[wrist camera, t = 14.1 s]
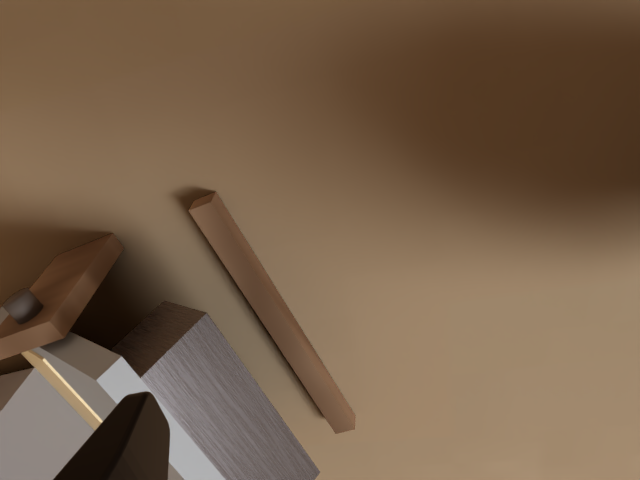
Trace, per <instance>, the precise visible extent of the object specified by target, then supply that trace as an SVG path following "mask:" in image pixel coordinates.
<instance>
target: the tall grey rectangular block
mask: <svg viewBox="0 0 640 480" xmlns="http://www.w3.org/2000/svg"><path fill="white" fill-rule="evenodd" d="M93 432H94V430H93V429H92V427H91V426H90V425H89V424H88V423H87V422H86V421H85V420H84V419H83V418H82V417H81V416H80V415H79V414H78V413H77V412H76V411H75V409H74V408H73V407H72V406H71V405H70V404H69V403H68V402H67V401H66V400H65V399H64V398H63V397H62V396H61V395H60V394H59V393H58V392H57V390H56V389H55V388H54V387H53V386H52V385H51V384H50V383H49V382H48V381H47V380H46V379H45V378H44V377H43V376H42V375H41V374H40V373H39V371H38V370H37V369H36V368H30V369H26V370H22V371H18V372H13V373H9V374H5V375H1V376H0V480H53V479H54V478H55V476H56V475H57V474H58V473H59V472H60V471H61V470H62V468H63V467H64V466H65V465H66V464H67V463H68V461H69V460H70V459H71V458H72V457H73V456H74V454H75V453H76V452H77V451H78V450H79V449H80V447H81V446H82V445H83V444H84V443H85V442H86V440H87V439H88V438H89V437H90V436H91V435H92V433H93Z"/></svg>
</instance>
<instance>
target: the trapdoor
mask: <svg viewBox="0 0 640 480" xmlns="http://www.w3.org/2000/svg"><path fill="white" fill-rule="evenodd" d="M8 315H9V313H8V312H7V311H6V310H5V309H4V308H3V306H2V307H1V308H0V324H1V323H2V322H3V321H4V320H5V318H6V317H7V316H8ZM21 354H22V355H23V356H24V357H25V358H26V359H27V360H28V361H29V362H30V363H31V364H32V365H33V366H34V368H36V369H37V370H38V371H39V373H40V374H41V375H42V376H43V377H44V378H45V379H46V380H47V381H48V382H49V383H50V384H51V385H52V386H53V387H54V388H55V389H56V390H57V392H58V393H59V394H60V395H61V396H62V397H63V398H64V399H65V400H66V401H67V402H68V403H69V404H70V405H71V406H72V407H73V408H74V409H75V411H76V412H77V413H78V414H79V415H80V416H81V417H82V418H83V419H84V420H85V421H86V422H87V423H88V424H89V425H90V426H91V427H92V429H93V430H94V431H95V430H96V429H97V428H98V426H99V425H100V424H101V423H102V422H103V421H104V420H105V418H106V417H107V416H108V415H109V414H110V413H111V411H112V410H113V409H114V408H115V407H116V406H117V404H118V403H119V402H120V401H121V400H122V399H123V398H124V397H125V396H126V395H129V394H133V393H139V392H145V391H147V392H151V393H152V394H153V395H154V397H155V399H156V400H157V402H158V404H159V406H160V408H161V410H162V412H163V413H164V415H165V417H166V419H167V421H168V424H169V428H170V449H169V467H168V480H315V478H316V477H317V476H318V474H319V473H320V471H319V470H318V468H317V467H316V466H315V464H314V463H313V461H312V460H311V459H310V457H309V456H308V454H307V453H306V452H305V450H304V449H303V447H302V446H301V445H300V443H299V442H298V440H297V439H296V438H295V436H294V435H293V433H292V432H291V430H290V429H289V428H288V426H287V425H286V423H285V422H284V421H283V419H282V418H281V416H280V415H279V414H278V412H277V411H276V409H275V408H274V407H273V405H272V404H271V402H270V401H269V400H268V398H267V397H266V395H265V394H264V393H263V391H262V390H261V388H260V387H259V386H258V384H257V383H256V381H255V380H254V379H253V377H252V376H251V374H250V373H249V372H248V370H247V369H246V367H245V366H244V365H243V363H242V362H241V360H240V359H239V358H238V356H237V355H236V353H235V352H234V350H233V349H232V348H231V346H230V345H229V343H228V342H227V341H226V339H225V338H224V336H223V335H222V334H221V332H220V331H219V329H218V328H217V327H216V325H215V324H214V322H213V321H212V320H211V318H210V317H209V315H208V314H207V313H205V312H202V311H198V310H195V309H191V308H188V307H184V306H181V305H177V304H174V303H170V302H167V301H163V302H162V303H161V304H160V305H159V306H158V307H157V308H156V309H155V310H153V311H152V312H151V313H150V314H149V315H148V316H147V317H146V318H145V319H144V320H143V321H142V322H140V323H139V324H138V325H137V326H136V327H135V328H134V329H133V330H132V331H131V332H130V333H128V334H127V335H126V336H125V337H124V338H123V339H122V340H121V341H120V342H119V343H118V344H117V345H115V346H114V347H113V348H112V349H111V350H107V349H105V348H103V347H101V346H99V345H97V344H95V343H93V342H91V341H89V340H87V339H84V338H82V337H80V336H78V335H76V334H74V333H72V332H70V331H69V332H68V334H67V335H66V337H65V338H63V339H60V340H57V341H54V342H52V343H49V344H46V345H43V346H40V347H37V348H34V349H31V350H28V351H25V352H22V353H21Z"/></svg>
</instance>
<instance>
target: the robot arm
mask: <svg viewBox="0 0 640 480" xmlns="http://www.w3.org/2000/svg"><path fill="white" fill-rule="evenodd" d="M169 449H170V428H169V424H168V421H167V419H166V417H165V415H164V413H163V412H162V410H161V408H160V406H159V404H158V402H157V400H156V399H155V397H154V395H153V394H152V393H151V392H147V391H145V392H139V393H133V394H129V395H126V396H125V397H124V398H123V399H122V400H121V401H120V402H119V403H118V404H117V406H116V407H115V408H114V409H113V410H112V411H111V413H110V414H109V415H108V416H107V417H106V418H105V420H104V421H103V422H102V423H101V424H100V425H99V426H98V428H97V429H96V430H95V431H94V432H93V433H92V435H91V436H90V437H89V438H88V439H87V440H86V442H85V443H84V444H83V445H82V446H81V447H80V449H79V450H78V451H77V452H76V453H75V454H74V456H73V457H72V458H71V459H70V460H69V461H68V463H67V464H66V465H65V466H64V467H63V468H62V470H61V471H60V472H59V473H58V474H57V475H56V476H55V478H54V479H53V480H168V467H169Z"/></svg>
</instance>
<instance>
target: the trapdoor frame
mask: <svg viewBox="0 0 640 480" xmlns="http://www.w3.org/2000/svg"><path fill="white" fill-rule="evenodd" d="M189 212H190V214H191V215H192V217H193V218H194V220H195V221H196V223H197V224H198V226H199V227H200V229H201V230H202V232H203V233H204V235H205V237H206V238H207V240H208V241H209V243H210V244H211V246H212V247H213V249H214V250H215V252H216V253H217V255H218V256H219V258H220V259H221V261H222V262H223V264H224V265H225V267H226V268H227V270H228V271H229V273H230V274H231V276H232V277H233V279H234V280H235V282H236V283H237V285H238V287H239V288H240V290H241V291H242V293H243V294H244V296H245V297H246V299H247V300H248V302H249V303H250V305H251V306H252V308H253V309H254V311H255V312H256V314H257V315H258V317H259V318H260V320H261V321H262V323H263V324H264V326H265V327H266V329H267V330H268V332H269V333H270V335H271V337H272V338H273V340H274V341H275V343H276V344H277V346H278V347H279V349H280V350H281V352H282V353H283V355H284V356H285V358H286V359H287V361H288V362H289V364H290V365H291V367H292V368H293V370H294V371H295V373H296V374H297V376H298V377H299V379H300V380H301V382H302V383H303V385H304V387H305V388H306V390H307V391H308V393H309V394H310V396H311V397H312V399H313V400H314V402H315V403H316V405H317V406H318V408H319V409H320V411H321V412H322V414H323V415H324V417H325V418H326V420H327V421H328V423H329V424H330V426H331V427H332V429H333V430H334V432H335V433H336V434H337V433H341V432H345V431H349V430H354V429H355V414H354V413H353V411H352V410H351V408H350V406H349V405H348V403H347V402H346V400H345V398H344V397H343V395H342V394H341V392H340V390H339V389H338V387H337V386H336V384H335V382H334V381H333V379H332V378H331V376H330V374H329V373H328V371H327V369H326V368H325V366H324V365H323V363H322V361H321V360H320V358H319V357H318V355H317V353H316V352H315V350H314V349H313V347H312V345H311V344H310V342H309V341H308V339H307V337H306V336H305V334H304V333H303V331H302V329H301V328H300V326H299V324H298V323H297V321H296V320H295V318H294V316H293V315H292V313H291V312H290V310H289V308H288V307H287V305H286V304H285V302H284V300H283V299H282V297H281V296H280V294H279V292H278V291H277V289H276V288H275V286H274V284H273V283H272V281H271V279H270V278H269V276H268V275H267V273H266V271H265V270H264V268H263V267H262V265H261V263H260V262H259V260H258V259H257V257H256V255H255V254H254V252H253V251H252V249H251V247H250V246H249V244H248V243H247V241H246V239H245V238H244V236H243V234H242V233H241V231H240V230H239V228H238V226H237V225H236V223H235V222H234V220H233V218H232V217H231V215H230V214H229V212H228V210H227V209H226V207H225V206H224V204H223V202H222V201H221V199H220V198H219V196H218V194H217V193H216V192H214V193H212V194H209V195H207V196H204V197H202V198H199V199H197V200H194V202H193V204H192V205H191V207H190V209H189ZM123 249H124V247H123V246H122V245H121V243H120V242H119V241H118V239H117V238H116V237H115V235H114V234H113V233H112V234H109V235H107V236H104V237H102V238H99V239H97V240H94V241H92V242H89V243H87V244H84V245H82V246H79V247H77V248H74V249H72V250H69V251H67V252H65V253H62V254H60V255H57V256H56V257H55V258H54V260H53V261H52V262H51V263H50V265H49V266H48V267H47V268H46V269H45V271H44V272H43V273H42V274H41V276H40V277H39V278H38V279H37V280H36V282H35V283H34V284H33V285H32V287H31V288H30V289H28V288H24V289H22V290H19V291H18V292H16V293H15V294H13V295H12V296H11V297H9V298H8V299H7V300H6V301H5V302H4V304H3V308H4V309H5V310H6V311H7V312H8V313H9V315H8V316H7V317H6V318H5V320H4V321H3V322H2V323H1V324H0V360H2V359H5V358H8V357H11V356H14V355H17V354H20V353H22V352H25V351H28V350H31V349H34V348H37V347H40V346H43V345H46V344H49V343H52V342H54V341H57V340H60V339H63V338H65V337H66V335H67V334H68V332H69V331H70V329H71V327H72V326H73V324H74V323H75V321H76V320H77V318H78V317H79V315H80V314H81V312H82V311H83V309H84V308H85V306H86V305H87V303H88V302H89V300H90V299H91V297H92V296H93V294H94V293H95V291H96V290H97V288H98V287H99V285H100V284H101V282H102V281H103V279H104V278H105V276H106V275H107V273H108V272H109V270H110V269H111V267H112V266H113V264H114V263H115V261H116V260H117V258H118V257H119V255H120V254H121V252H122V251H123Z"/></svg>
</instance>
